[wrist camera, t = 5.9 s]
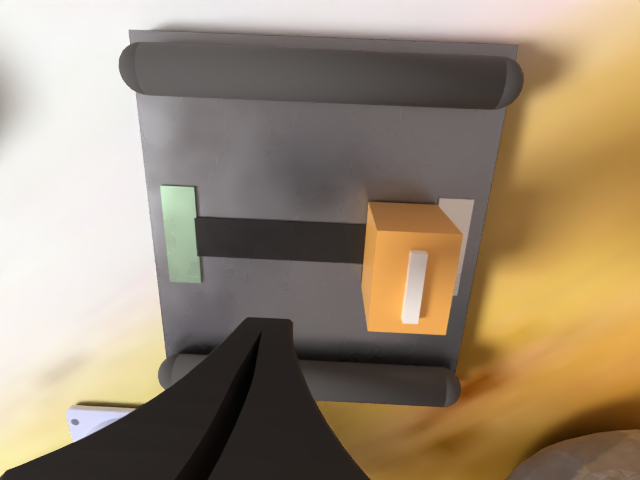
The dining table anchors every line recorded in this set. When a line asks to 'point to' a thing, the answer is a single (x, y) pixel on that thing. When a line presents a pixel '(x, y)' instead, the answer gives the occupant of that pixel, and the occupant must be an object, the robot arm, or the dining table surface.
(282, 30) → the dining table surface
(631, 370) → the dining table surface
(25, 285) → the dining table surface
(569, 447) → the gray stone pot
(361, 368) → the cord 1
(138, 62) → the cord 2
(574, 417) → the dining table surface
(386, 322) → the toggle
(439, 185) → the panel
